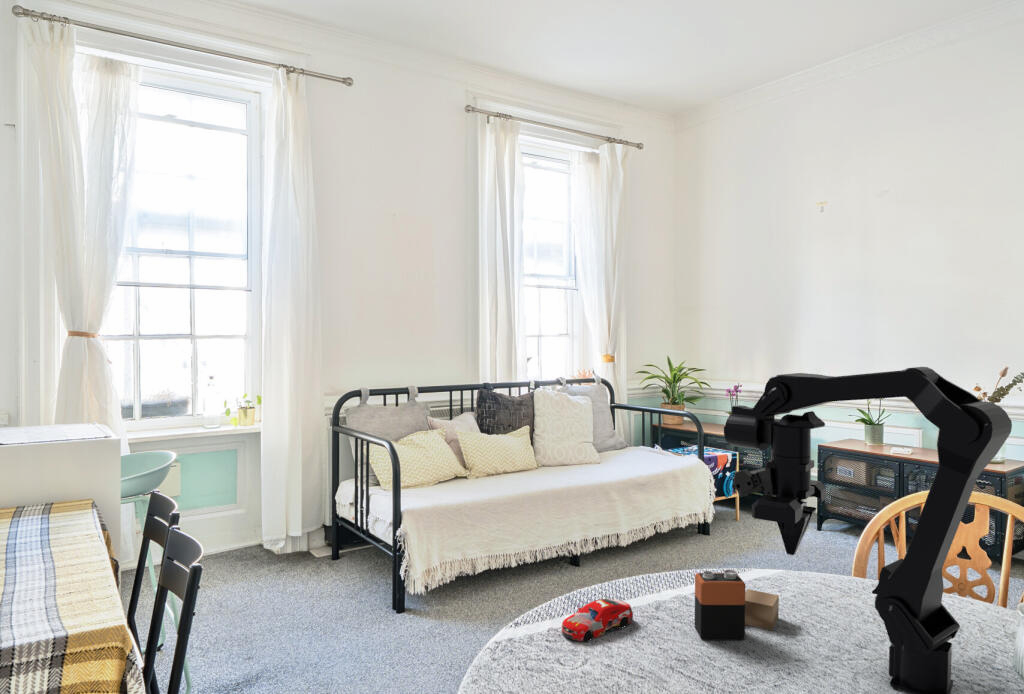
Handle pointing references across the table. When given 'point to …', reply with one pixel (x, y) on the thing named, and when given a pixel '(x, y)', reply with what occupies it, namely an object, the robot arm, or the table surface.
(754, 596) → the walnut block
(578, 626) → the race car
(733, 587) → the battery
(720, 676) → the table surface
